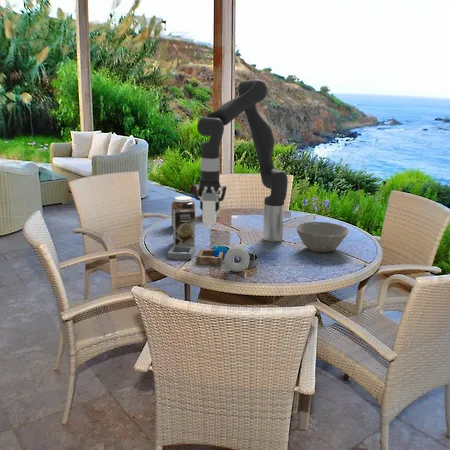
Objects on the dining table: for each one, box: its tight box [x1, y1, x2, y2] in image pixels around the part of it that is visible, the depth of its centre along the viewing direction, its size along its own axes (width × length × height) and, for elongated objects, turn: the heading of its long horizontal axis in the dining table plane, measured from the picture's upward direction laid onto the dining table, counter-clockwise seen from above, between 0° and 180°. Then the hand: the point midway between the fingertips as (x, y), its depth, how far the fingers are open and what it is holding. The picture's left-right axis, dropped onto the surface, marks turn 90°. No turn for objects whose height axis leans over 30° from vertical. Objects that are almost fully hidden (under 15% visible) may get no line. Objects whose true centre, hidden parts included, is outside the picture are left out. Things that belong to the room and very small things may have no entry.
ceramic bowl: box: [296, 221, 350, 253], centre depth 222 cm, size 22×23×10 cm
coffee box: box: [172, 209, 196, 247], centre depth 225 cm, size 9×6×16 cm
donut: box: [223, 246, 251, 273], centre depth 194 cm, size 10×4×10 cm, turn 91°
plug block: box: [202, 193, 218, 224], centre depth 201 cm, size 5×5×12 cm
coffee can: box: [201, 189, 222, 218], centre depth 275 cm, size 10×10×14 cm
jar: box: [171, 195, 196, 228], centre depth 253 cm, size 12×12×15 cm
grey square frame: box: [167, 245, 196, 260], centre depth 212 cm, size 10×10×2 cm
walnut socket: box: [196, 248, 224, 266], centre depth 207 cm, size 10×10×3 cm
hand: (209, 210), depth 202 cm, fingers closed on plug block, 5 cm apart
